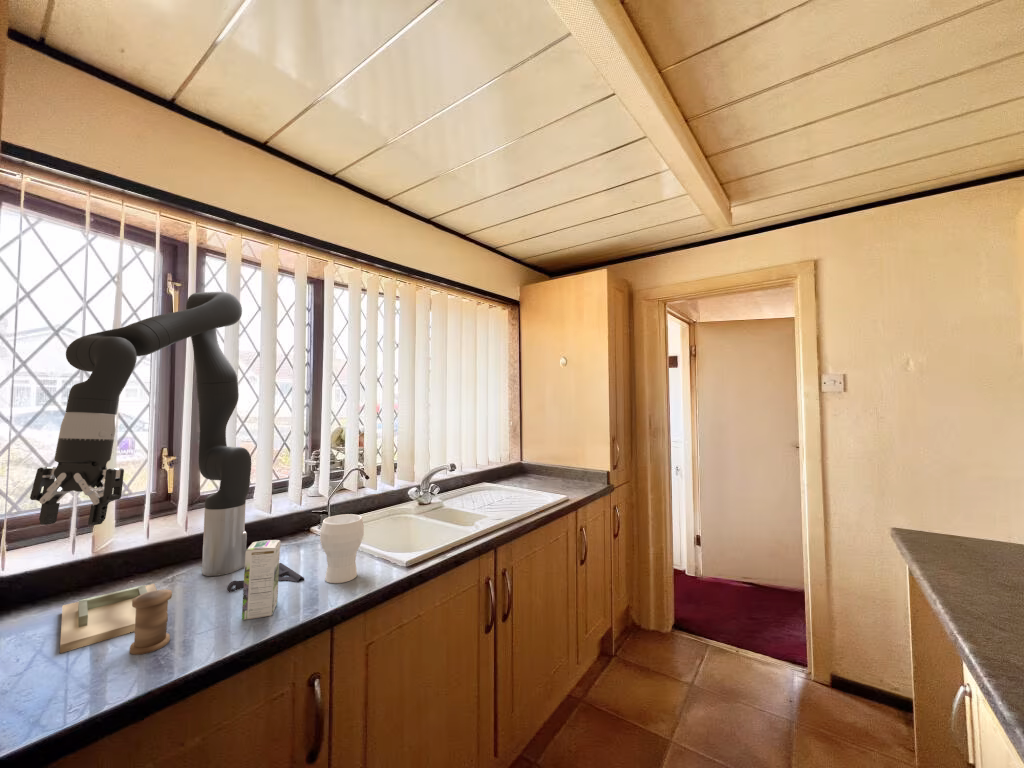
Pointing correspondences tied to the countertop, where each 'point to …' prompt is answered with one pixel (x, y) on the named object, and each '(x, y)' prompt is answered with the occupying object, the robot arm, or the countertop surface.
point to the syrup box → (261, 579)
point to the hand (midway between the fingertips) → (71, 524)
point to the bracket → (282, 572)
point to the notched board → (99, 618)
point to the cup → (341, 546)
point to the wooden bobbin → (150, 621)
